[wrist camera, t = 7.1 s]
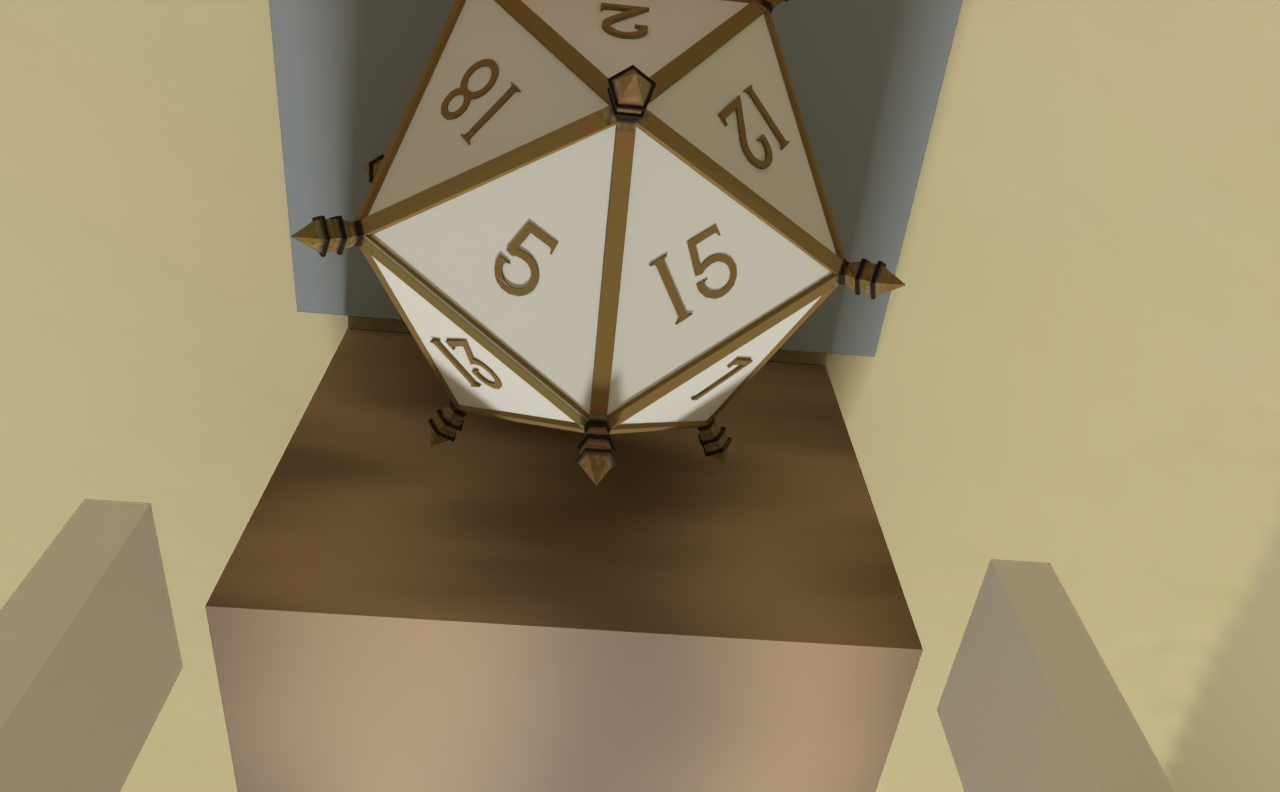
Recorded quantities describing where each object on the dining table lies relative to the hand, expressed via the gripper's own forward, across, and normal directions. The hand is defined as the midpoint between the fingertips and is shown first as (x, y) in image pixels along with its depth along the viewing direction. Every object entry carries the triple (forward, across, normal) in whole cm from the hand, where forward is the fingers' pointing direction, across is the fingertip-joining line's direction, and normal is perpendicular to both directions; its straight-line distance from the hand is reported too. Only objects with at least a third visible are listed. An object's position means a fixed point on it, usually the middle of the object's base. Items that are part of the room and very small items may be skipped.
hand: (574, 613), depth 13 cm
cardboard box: (+11, 0, -6) cm, 12 cm away
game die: (+7, 0, -1) cm, 7 cm away
